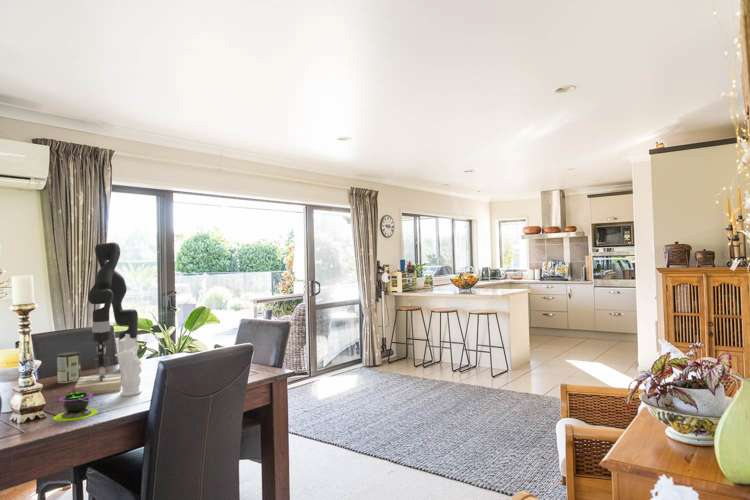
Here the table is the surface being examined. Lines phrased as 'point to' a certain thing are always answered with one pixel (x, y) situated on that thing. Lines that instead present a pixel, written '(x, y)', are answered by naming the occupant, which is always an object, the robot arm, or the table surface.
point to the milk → (126, 347)
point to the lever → (102, 367)
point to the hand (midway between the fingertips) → (101, 364)
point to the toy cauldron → (75, 407)
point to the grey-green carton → (68, 367)
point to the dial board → (99, 384)
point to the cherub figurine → (130, 372)
